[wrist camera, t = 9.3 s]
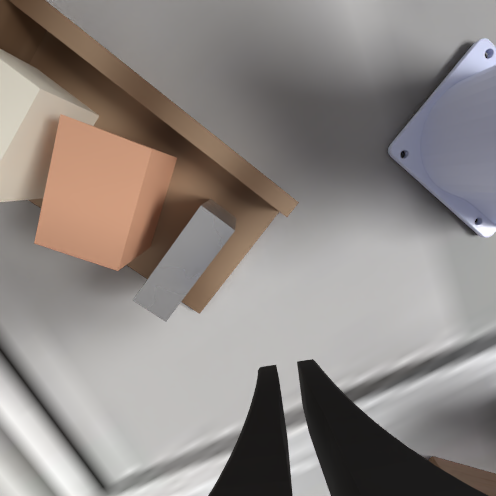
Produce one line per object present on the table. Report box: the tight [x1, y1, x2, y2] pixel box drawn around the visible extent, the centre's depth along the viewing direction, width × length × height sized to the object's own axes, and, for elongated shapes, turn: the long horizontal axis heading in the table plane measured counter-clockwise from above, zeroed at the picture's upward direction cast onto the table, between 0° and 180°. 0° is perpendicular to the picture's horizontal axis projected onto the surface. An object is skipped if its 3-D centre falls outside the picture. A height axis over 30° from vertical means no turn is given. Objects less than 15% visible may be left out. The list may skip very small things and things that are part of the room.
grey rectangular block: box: [133, 199, 236, 321], centre depth 16 cm, size 2×6×4 cm, turn 143°
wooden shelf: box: [0, 0, 299, 314], centre depth 15 cm, size 18×10×7 cm, turn 53°
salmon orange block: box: [34, 114, 177, 271], centre depth 15 cm, size 4×6×5 cm, turn 160°
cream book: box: [0, 49, 99, 202], centre depth 14 cm, size 4×6×5 cm, turn 143°
